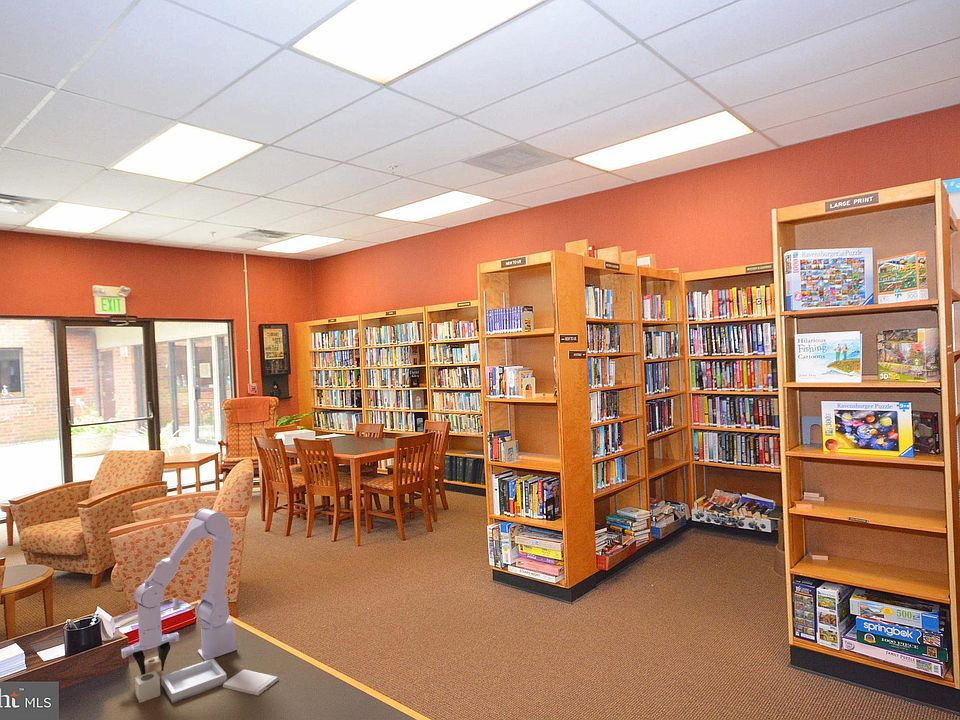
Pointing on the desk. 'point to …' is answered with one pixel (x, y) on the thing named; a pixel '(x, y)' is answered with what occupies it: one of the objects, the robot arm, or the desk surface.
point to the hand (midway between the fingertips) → (152, 673)
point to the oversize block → (147, 686)
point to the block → (153, 665)
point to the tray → (193, 680)
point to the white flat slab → (250, 682)
